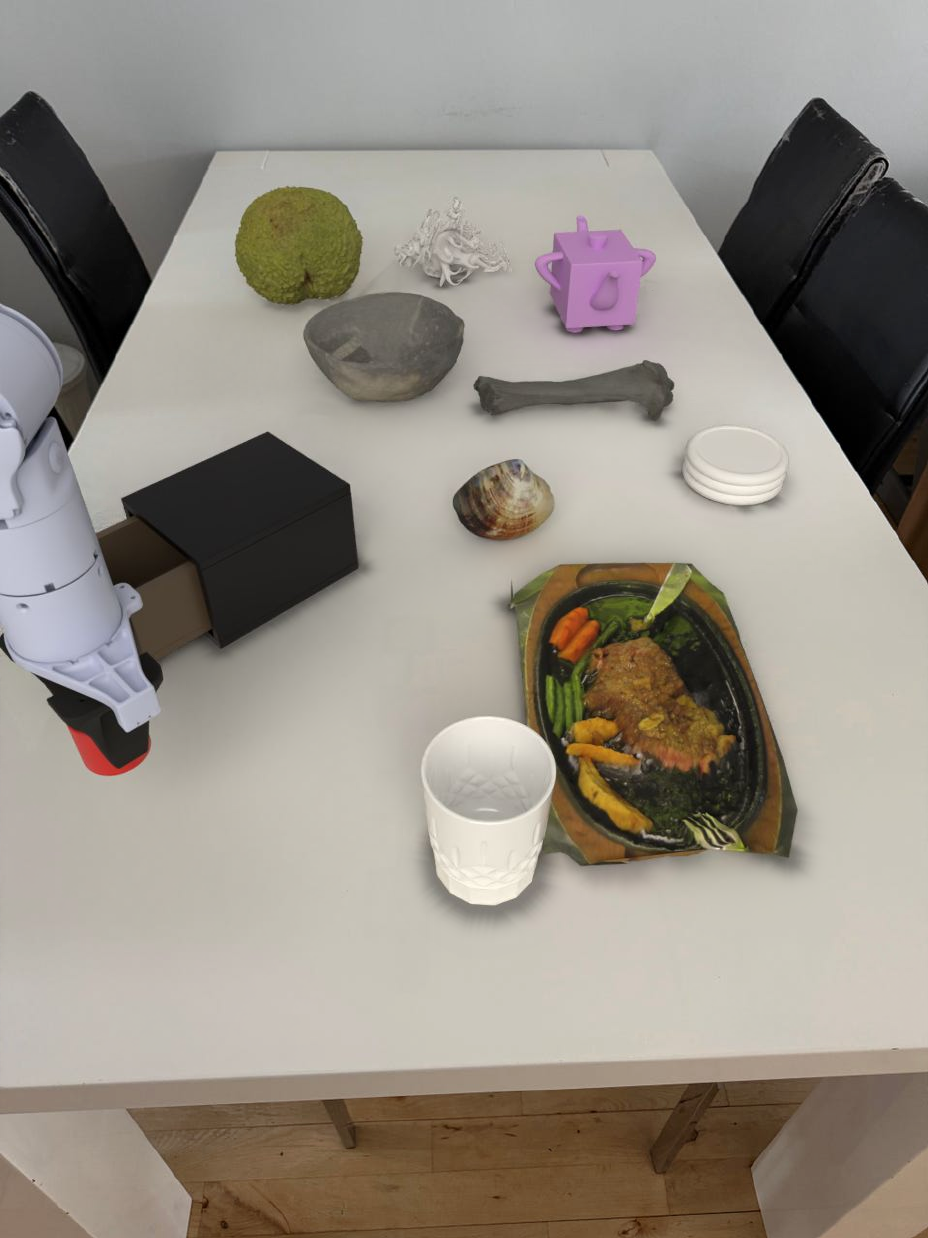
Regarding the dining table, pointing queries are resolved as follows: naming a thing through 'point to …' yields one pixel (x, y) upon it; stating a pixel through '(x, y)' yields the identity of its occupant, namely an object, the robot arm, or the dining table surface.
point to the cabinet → (254, 530)
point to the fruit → (298, 245)
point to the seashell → (504, 501)
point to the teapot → (594, 277)
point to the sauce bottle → (100, 756)
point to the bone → (582, 390)
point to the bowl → (385, 345)
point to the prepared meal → (648, 716)
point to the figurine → (448, 247)
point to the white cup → (487, 806)
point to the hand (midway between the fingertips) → (111, 735)
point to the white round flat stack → (735, 465)
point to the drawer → (155, 587)
